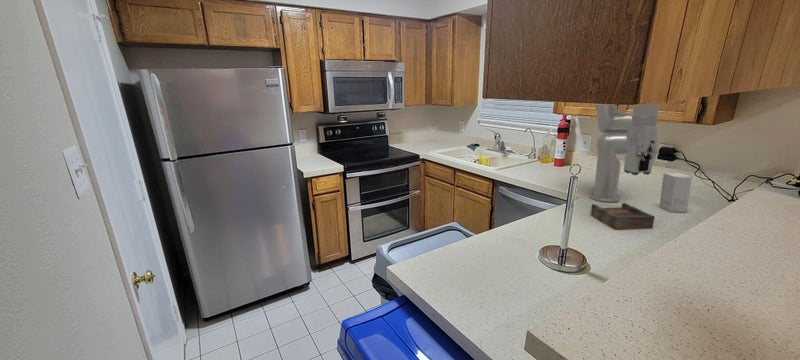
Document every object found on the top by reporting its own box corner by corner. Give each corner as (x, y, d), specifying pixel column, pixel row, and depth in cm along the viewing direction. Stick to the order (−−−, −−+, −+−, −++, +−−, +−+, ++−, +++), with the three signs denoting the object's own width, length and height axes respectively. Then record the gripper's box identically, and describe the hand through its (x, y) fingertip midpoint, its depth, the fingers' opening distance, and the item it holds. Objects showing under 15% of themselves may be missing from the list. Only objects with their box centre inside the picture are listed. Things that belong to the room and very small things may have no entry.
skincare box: (686, 212, 134) (693, 176, 130) (668, 212, 135) (675, 176, 132) (674, 206, 142) (680, 172, 138) (657, 206, 143) (663, 172, 140)
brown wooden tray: (590, 215, 136) (591, 204, 135) (623, 213, 136) (625, 203, 135) (615, 229, 120) (617, 217, 119) (652, 228, 120) (654, 216, 119)
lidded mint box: (623, 172, 126) (627, 144, 123) (640, 171, 126) (644, 143, 123) (632, 175, 121) (636, 146, 118) (650, 174, 121) (655, 145, 118)
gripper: (618, 120, 127) (612, 165, 131) (652, 123, 110) (645, 174, 114) (636, 119, 127) (630, 164, 131) (674, 122, 110) (665, 173, 115)
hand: (637, 168), depth 123 cm, fingers closed on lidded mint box, 5 cm apart
